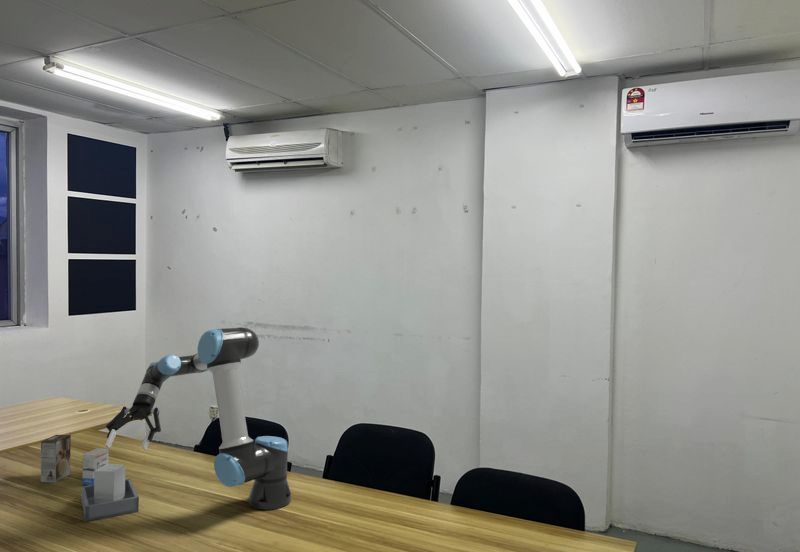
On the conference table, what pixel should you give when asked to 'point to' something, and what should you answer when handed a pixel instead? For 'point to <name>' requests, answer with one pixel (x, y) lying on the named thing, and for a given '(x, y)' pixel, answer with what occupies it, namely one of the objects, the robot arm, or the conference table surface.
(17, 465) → the conference table surface
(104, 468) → the supplement box
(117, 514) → the tote
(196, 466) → the conference table surface
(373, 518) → the conference table surface
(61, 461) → the coffee box
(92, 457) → the ink box
